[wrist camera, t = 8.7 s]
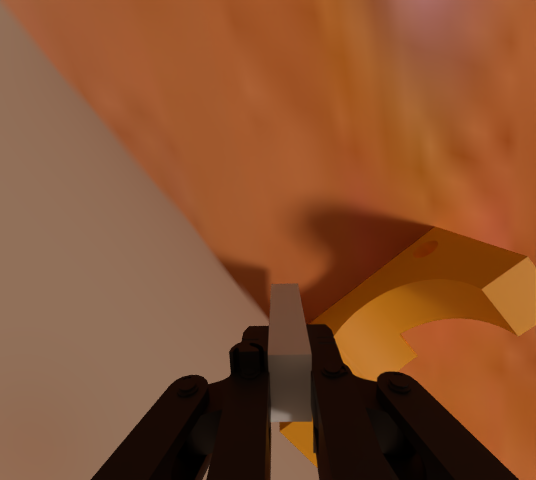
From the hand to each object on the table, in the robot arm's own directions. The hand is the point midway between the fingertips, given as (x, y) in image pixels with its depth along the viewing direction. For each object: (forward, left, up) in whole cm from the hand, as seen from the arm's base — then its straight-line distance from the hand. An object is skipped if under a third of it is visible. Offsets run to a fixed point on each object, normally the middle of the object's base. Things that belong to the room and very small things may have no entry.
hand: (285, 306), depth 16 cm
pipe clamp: (+1, +6, -2) cm, 6 cm away
